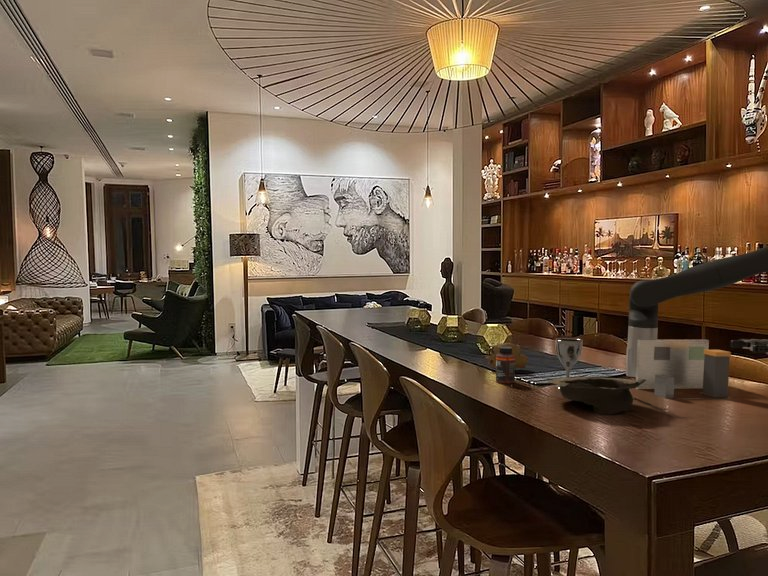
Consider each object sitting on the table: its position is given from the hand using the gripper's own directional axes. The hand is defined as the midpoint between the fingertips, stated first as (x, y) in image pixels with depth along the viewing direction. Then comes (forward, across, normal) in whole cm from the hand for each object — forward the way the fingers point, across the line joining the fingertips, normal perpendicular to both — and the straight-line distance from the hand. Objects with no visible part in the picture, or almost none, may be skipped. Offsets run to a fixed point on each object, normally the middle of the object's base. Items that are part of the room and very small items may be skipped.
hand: (742, 346), depth 170 cm
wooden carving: (+54, -45, +18) cm, 73 cm away
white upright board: (+15, -2, +16) cm, 22 cm away
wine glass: (+45, -17, +17) cm, 51 cm away
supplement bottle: (+62, -25, +18) cm, 69 cm away
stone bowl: (+48, +5, +17) cm, 51 cm away
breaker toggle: (+8, 0, +14) cm, 17 cm away
